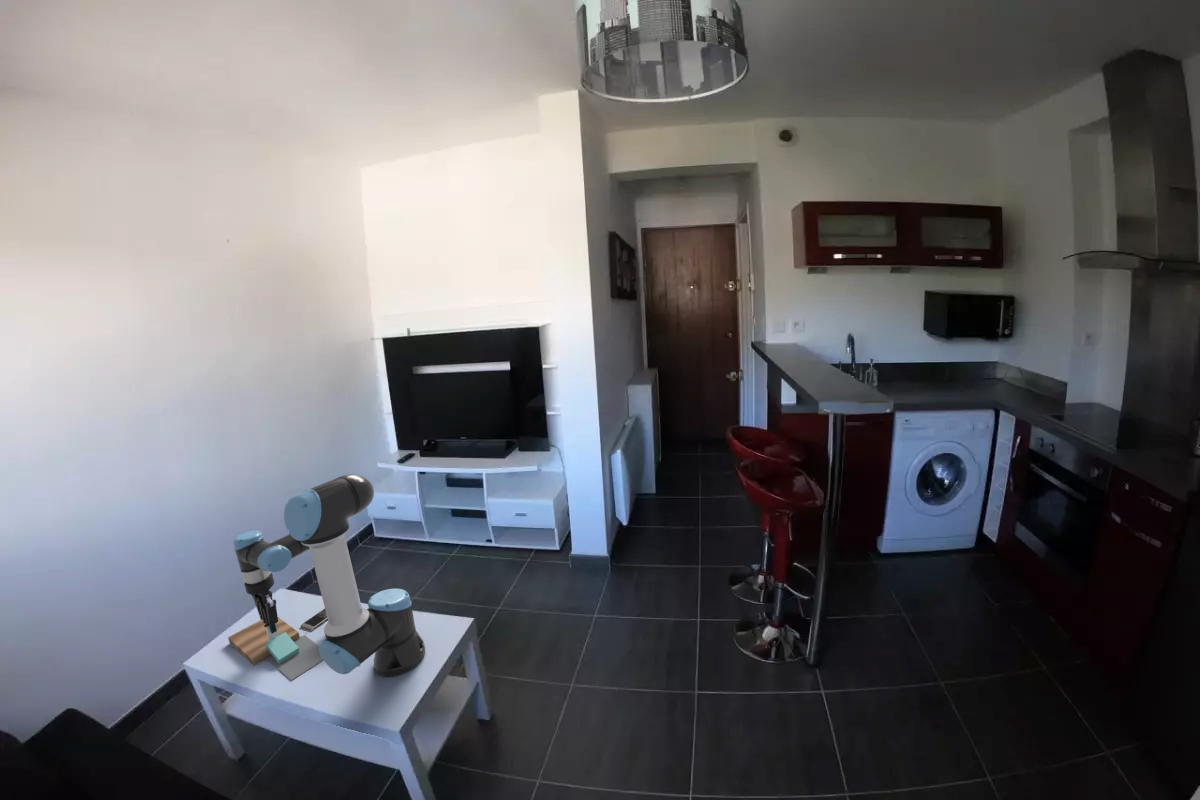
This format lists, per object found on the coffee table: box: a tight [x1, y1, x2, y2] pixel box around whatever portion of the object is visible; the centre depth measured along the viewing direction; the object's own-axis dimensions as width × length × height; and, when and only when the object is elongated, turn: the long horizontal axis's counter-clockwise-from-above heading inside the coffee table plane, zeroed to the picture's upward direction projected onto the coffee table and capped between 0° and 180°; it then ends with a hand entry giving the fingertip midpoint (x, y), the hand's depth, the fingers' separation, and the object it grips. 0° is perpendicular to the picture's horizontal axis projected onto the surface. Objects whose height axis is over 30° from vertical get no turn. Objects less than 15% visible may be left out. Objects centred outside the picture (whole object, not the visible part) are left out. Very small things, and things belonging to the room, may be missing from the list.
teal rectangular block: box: [265, 632, 299, 664], centre depth 155 cm, size 9×6×2 cm, turn 57°
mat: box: [265, 634, 324, 682], centre depth 153 cm, size 18×12×1 cm, turn 56°
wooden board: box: [227, 616, 300, 667], centre depth 162 cm, size 20×14×2 cm
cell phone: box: [300, 608, 328, 632], centre depth 171 cm, size 6×11×1 cm, turn 156°
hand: (274, 639), depth 157 cm, fingers closed
